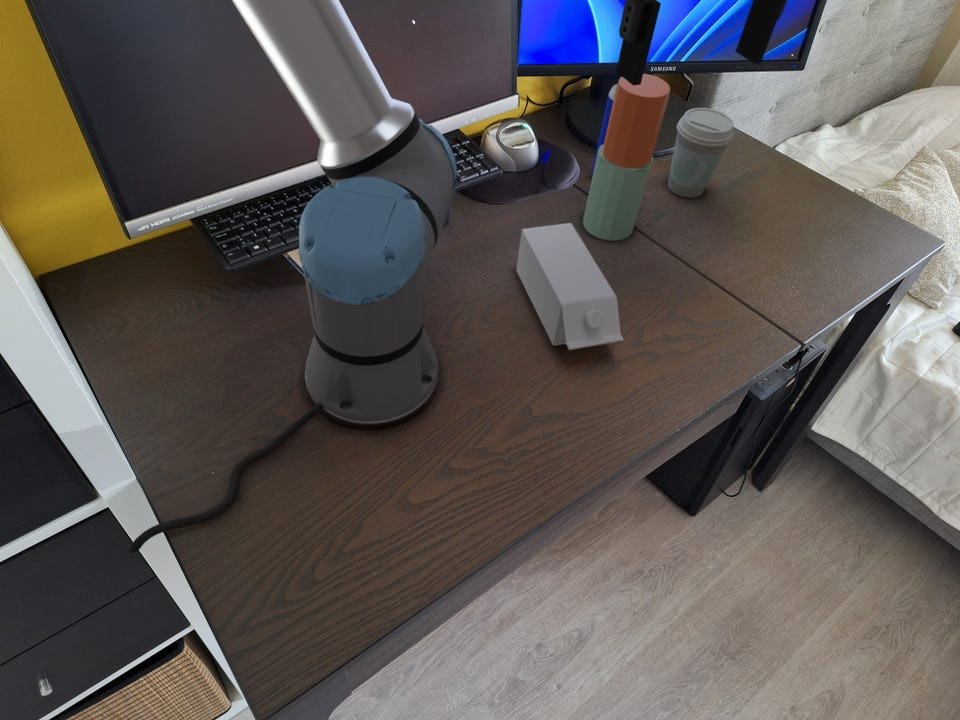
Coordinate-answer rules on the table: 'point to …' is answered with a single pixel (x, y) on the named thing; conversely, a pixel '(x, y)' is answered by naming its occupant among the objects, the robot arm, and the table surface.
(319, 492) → the table surface
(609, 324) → the juice carton
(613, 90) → the beverage can
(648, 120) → the cylinder
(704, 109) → the coffee cup
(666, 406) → the table surface
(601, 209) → the bottle
